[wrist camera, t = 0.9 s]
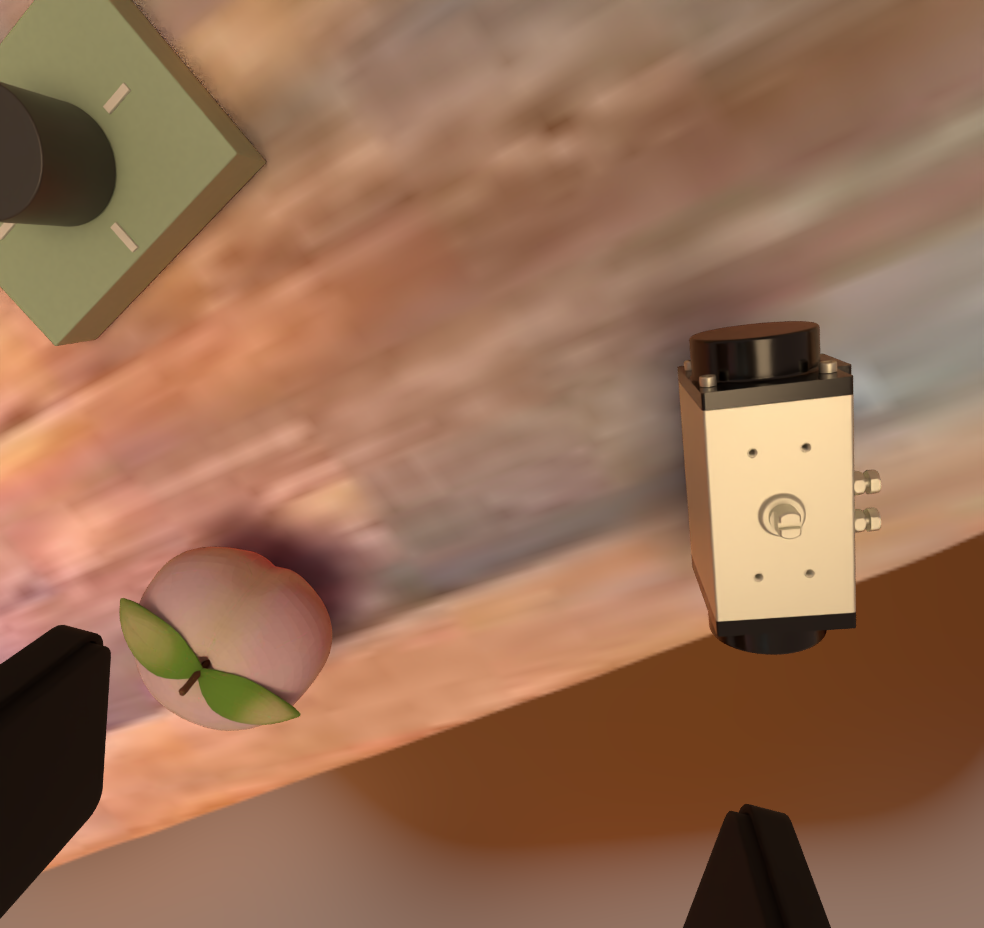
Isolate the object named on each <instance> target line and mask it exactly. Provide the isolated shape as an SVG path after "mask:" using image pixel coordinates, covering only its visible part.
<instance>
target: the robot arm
mask: <svg viewBox="0 0 984 928" xmlns="http://www.w3.org/2000/svg"><path fill="white" fill-rule="evenodd" d="M110 661H111V652H110V650H109V648H108V647H106V646H103V640H102V638H101V636H100V635H98V634H96V633H93V632H89V631H85V630H81V629H77V628H73V627H70V626H66V625H58V626H56V627H54V628H52V629H51V630H49V631H48V632H46V633H45V634H44V635H42V636H41V637H39V638H38V639H36V640H35V641H33V642H32V643H31V644H29V645H28V646H26V647H25V648H23V649H22V650H21V651H19V652H18V653H16V654H15V655H13V656H12V657H10V658H9V659H8V660H6V661H5V662H3V663H2V664H0V918H1V917H2V916H3V915H4V914H5V913H6V912H7V911H8V909H9V908H10V907H11V906H12V905H13V904H14V903H15V901H16V900H17V899H18V898H19V897H20V896H21V895H22V894H23V892H24V891H25V890H26V889H27V888H28V887H29V886H30V884H31V883H32V882H33V881H34V880H35V879H36V878H37V876H38V875H39V874H40V873H41V872H42V871H43V870H44V869H45V868H46V866H47V865H48V864H49V863H50V862H51V861H52V860H53V859H54V857H55V856H56V855H57V854H58V853H59V852H60V851H61V849H62V848H63V847H64V846H65V845H66V844H67V843H68V842H69V840H70V839H71V838H72V837H73V836H74V835H75V834H76V833H77V831H78V830H79V829H80V828H81V827H82V826H83V825H84V823H85V822H86V821H87V820H88V819H89V818H90V816H91V815H92V814H93V812H94V811H95V809H96V807H97V805H98V803H99V801H100V798H101V794H102V789H103V773H104V757H105V741H106V725H107V709H108V693H109V677H110ZM683 928H831V927H830V924H829V921H828V919H827V916H826V913H825V911H824V908H823V905H822V903H821V900H820V897H819V894H818V892H817V889H816V887H815V884H814V881H813V878H812V876H811V873H810V870H809V868H808V865H807V862H806V860H805V857H804V855H803V852H802V849H801V846H800V844H799V841H798V838H797V836H796V833H795V830H794V828H793V825H792V822H791V820H790V819H789V817H788V816H787V815H786V814H784V813H780V812H777V811H772V810H769V809H765V808H761V807H757V806H754V805H749V804H745V805H743V806H742V807H741V809H740V811H739V813H738V812H734V811H729V812H728V813H727V815H726V817H725V819H724V821H723V824H722V827H721V829H720V832H719V834H718V837H717V840H716V842H715V845H714V848H713V850H712V853H711V856H710V858H709V861H708V863H707V866H706V869H705V871H704V874H703V877H702V879H701V882H700V885H699V887H698V890H697V892H696V895H695V898H694V900H693V903H692V905H691V908H690V911H689V913H688V916H687V919H686V922H685V924H684V927H683Z"/></svg>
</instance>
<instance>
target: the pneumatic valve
mask: <svg viewBox="0 0 984 928" xmlns="http://www.w3.org/2000/svg"><path fill="white" fill-rule="evenodd" d="M689 343H690V358H691V360H687V361H685V362H684V366H679V367H677V368H678V381H679V395H680V408H681V422H682V435H683V448H684V462H685V475H686V489H687V502H688V516H689V529H690V542H691V556H692V568H693V570H694V573H695V576H696V579H697V582H698V584H699V587H700V590H701V593H702V596H703V598H704V601H705V604H706V607H707V610H708V616H709V627H710V630H711V632H712V633H713V635H714V636H715V637H716V638H717V639H719V640H720V641H721V642H723V643H724V644H727V645H729V646H731V647H733V648H736V649H739V650H742V651H746V652H752V653H757V654H771V655H772V654H774V655H777V654H789V653H795V652H799V651H803V650H806V649H808V648H811V647H813V646H815V645H816V644H818V643H819V642H820V641H821V640H822V639H823V638H824V636H825V634H826V631H827V630H834V629H848V628H856V581H855V532H862V531H865V529H866V530H867V531H876V530H879V529H880V528H881V517H880V513H879V511H878V510H877V509H876V508H867V509H865V510H863V511H862V510H860V509H855V498H854V495H860V494H863V493H864V492H865V491H866V493H867V494H874V493H878V492H879V491H880V489H881V479H880V476H879V473H878V472H877V471H876V470H867V471H865V472H864V473H862V472H860V471H854V415H853V375H851V364H849V363H846V362H844V361H841V360H838V359H836V358H833V357H831V356H828V355H825V354H820V327H819V325H818V324H817V323H814V322H806V321H785V322H768V323H756V324H747V325H739V326H731V327H725V328H719V329H714V330H709V331H705V332H701V333H698V334H695V335H693V336H691V337H690V339H689Z"/></svg>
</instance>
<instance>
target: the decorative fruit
mask: <svg viewBox="0 0 984 928" xmlns="http://www.w3.org/2000/svg"><path fill="white" fill-rule="evenodd" d="M120 622H121V628H122V631H123V634H124V637H125V640H126V642H127V644H128V647H129V648H130V650H131V652H132V653H133V655H134V656H135V658H136V664H137V668H138V671H139V673H140V676H141V678H142V680H143V682H144V684H145V685H146V687H147V689H148V690H149V691H150V693H151V694H152V695H153V696H154V698H155V699H156V700H157V701H158V702H159V703H160V704H161V705H163V706H164V707H165V708H167V709H168V710H169V711H171V712H173V713H174V714H176V715H178V716H179V717H181V718H183V719H185V720H187V721H189V722H192V723H195V724H197V725H200V726H203V727H207V728H211V729H216V730H224V731H234V730H245V729H250V728H255V727H258V726H261V725H266V724H275V723H280V722H284V721H287V720H290V719H293V718H296V717H299V716H300V713H299V712H298V711H297V710H296V709H295V708H294V707H293V705H294V704H295V703H296V702H297V701H298V700H299V699H300V697H301V696H302V695H303V694H304V693H305V692H306V690H307V689H308V688H309V687H310V685H311V684H312V683H313V681H314V680H315V679H316V677H317V676H318V674H319V673H320V671H321V670H322V668H323V667H324V665H325V663H326V661H327V659H328V656H329V653H330V649H331V644H332V626H331V621H330V617H329V614H328V612H327V609H326V607H325V605H324V604H323V602H322V600H321V598H320V597H319V596H318V594H317V593H316V592H315V590H314V589H313V588H312V587H311V586H310V585H309V584H308V583H307V581H306V580H305V579H303V578H302V577H301V576H300V575H299V574H297V573H296V572H294V571H292V570H290V569H286V568H281V567H276V566H275V565H273V564H272V563H271V562H270V561H269V560H268V559H267V558H265V557H264V556H262V555H260V554H258V553H255V552H252V551H247V550H242V549H236V548H229V547H202V548H197V549H193V550H189V551H186V552H183V553H182V554H180V555H178V556H176V557H174V558H173V559H171V560H170V561H169V562H168V563H166V564H165V565H164V566H163V567H162V568H161V570H160V571H159V572H158V573H157V574H156V576H155V577H154V578H153V580H152V581H151V583H150V584H149V585H148V587H147V589H146V590H145V592H144V594H143V596H142V598H141V601H140V603H139V604H138V603H136V602H134V601H131V600H128V599H125V598H121V600H120Z"/></svg>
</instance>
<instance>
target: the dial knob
mask: <svg viewBox="0 0 984 928" xmlns="http://www.w3.org/2000/svg"><path fill="white" fill-rule="evenodd" d="M115 178H116V168H115V160H114V156H113V152H112V149H111V146H110V144H109V141H108V139H107V137H106V135H105V134H104V132H103V131H102V129H101V128H100V126H99V125H98V124H97V123H96V121H95V120H94V119H93V118H92V117H91V116H90V115H88V114H87V113H86V112H85V111H83V110H82V109H80V108H79V107H77V106H75V105H73V104H71V103H68V102H65V101H62V100H58V99H55V98H52V97H49V96H45V95H42V94H39V93H36V92H32V91H29V90H26V89H23V88H19V87H16V86H13V85H9V84H6V83H3V82H0V222H2V223H18V224H33V225H49V226H64V227H73V226H79V225H83V224H86V223H88V222H90V221H92V220H93V219H94V218H96V217H97V216H98V215H99V214H100V213H101V212H102V211H103V210H104V209H105V207H106V206H107V204H108V203H109V201H110V199H111V196H112V194H113V190H114V186H115Z"/></svg>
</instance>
